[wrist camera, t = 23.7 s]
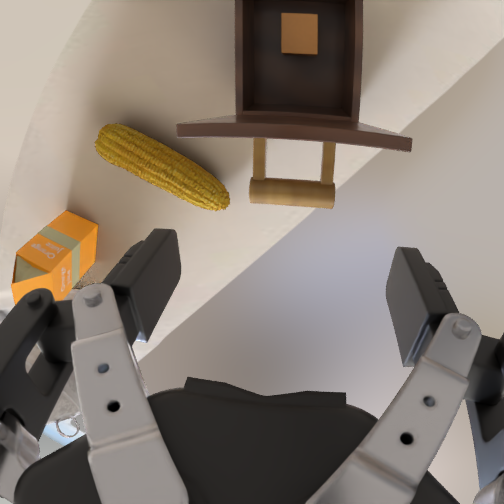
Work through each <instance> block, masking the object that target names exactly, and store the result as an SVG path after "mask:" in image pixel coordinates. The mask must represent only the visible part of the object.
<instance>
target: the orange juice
mask: <svg viewBox="0 0 504 504" xmlns="http://www.w3.org/2000/svg"><path fill="white" fill-rule="evenodd" d="M97 233H98V224H96V223H93V222H91V221H89V220H87V219H84V218H82V217H80V216H78V215H75V214H73V213H71V212H69V211H67V210H66V211H65V212H63V213H62V214H61V215H60V216H58V217H57V218H56V219H55V220H53V221H52V222H51V223H50V224H49V225H47V226H46V227H44V228H43V229H42V230H41V231H40V232H38V234H37V235H35V236H34V237H33V238H32V239H31V240H30V241H28V242H27V243H26V244H25V245H24V246H23V247H22V248H21V249H19V250H18V251H17V252H16V259H15V265H14V272H13V279H12V284H11V288H12V293H13V297H14V302H15V305H16V304H17V303H18V301H19V300H20V299H21V298H22V297H23V296H24V295H25V294H27V293H28V292H30V291H32V290H34V289H38V288H46V289H49V290H50V291H51V292H52V294H53V296H54V299H55V301H61V300H63V299H64V298H65V297H66V296H67V294H68V293H69V292H70V291H71V289H73V287H74V286H75V285H76V284H77V283H78V281H79V280H80V279H81V277H82V276H83V275H84V274H85V273H86V272H87V270H88V269H89V268H90V267H91V266H92V265H93V264H94V262H95V256H96V244H97Z"/></svg>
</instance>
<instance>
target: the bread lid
mask: <svg viewBox="0 0 504 504" xmlns="http://www.w3.org/2000/svg"><path fill="white" fill-rule="evenodd" d="M202 137H232V138H253V177H251V180H250V185H249V200H250V203H258V204H274V205H289V206H303V207H316V208H329V209H332V208H333V206H334V201H335V183H334V182H333V174H334V162H335V148H336V143H341V144H350V145H359V146H368V147H376V148H383V149H391V150H397V151H404V152H411V148H412V138H410V137H407V136H404V135H401V134H397V133H394V132H391V131H388V130H384V129H381V128H377V127H374V126H370V125H366V124H363V123H359V122H351V121H342V120H331V119H320V118H307V117H291V116H268V115H231V116H224V117H216V118H210V119H203V120H197V121H191V122H185V123H180V124H177V138H202ZM267 138H269V139H289V140H305V141H318V142H323V149H322V165H321V179H320V181H311V180H297V179H282V178H266V147H267Z"/></svg>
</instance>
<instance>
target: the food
mask: <svg viewBox="0 0 504 504" xmlns="http://www.w3.org/2000/svg"><path fill="white" fill-rule="evenodd" d="M95 148H96V151H97V152H98V154H100V156H101V157H103V158H104V159H105V160H106V161H108V162H110V163H111V164H114V165H116V166H118V167H121V168H123V169H126V170H127V171H130V172H131V173H133V174H135V176H139V177H140V178H141V179H144V180H146V181H148V182H149V183H151V184H153V185H155V186H158V187H159V188H161V189H164V190H165V191H167V192H170V193H172V194H173V195H175V196H177V197H178V198H181V199H183V200H186V201H187V202H190V203H192V204H193V205H195V206H199V207H201V208H204V209H207V210H209V209H210V210H214V211H217V210H221V209H223V210H224V209H225V210H226V207H228V205H229V204H230V202H229V201H230V198H229V192H227V191H226V189H225V186H224V185H223V184H222V183H221V182H220V181H219V180H218V179H216V177H214V176H213V175H211V174H210V173H208V172H207V171H206V170H204V169H203V168H202V167H201V166H198V165H197V164H196V163H194V162H193V161H191V160H189V159H188V158H187V157H184V156H183V155H181V154H179V153H178V152H176V151H174V150H173V149H171V148H169V147H167V146H165V145H164V144H162V143H160V142H158V141H157V140H155V139H152V138H150V137H149V136H148V137H147V136H146V135H144V134H142V133H140V132H139V131H137V130H135V129H132V128H130V127H128V126H125V125H122V124H117V123H115V124H107V125H105V126H104V127H102V129H101V130H99V134H98V139H97V140H96V141H95Z"/></svg>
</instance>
